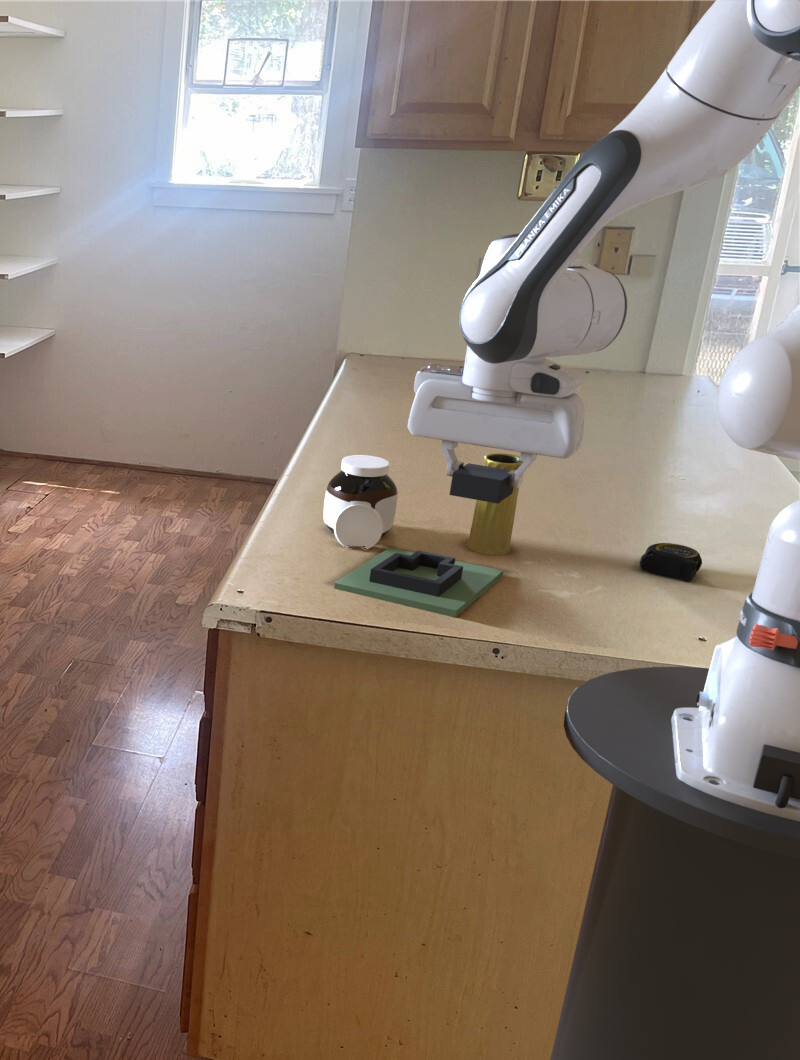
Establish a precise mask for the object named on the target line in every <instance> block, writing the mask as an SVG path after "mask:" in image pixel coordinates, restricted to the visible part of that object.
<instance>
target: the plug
mask: <svg viewBox="0 0 800 1060" xmlns="http://www.w3.org/2000/svg"><path fill="white" fill-rule="evenodd" d="M510 471H511V470H507V469H501V468H495V467H489V466H483V464H476V463H470V462H468V463H466V464H464V465H463V467H461V468H460V469H458V470H456V471H454V472H453V475H452V476H451V481H450V487H449V496H454V497H458V498H463V499H469V500H475V501H476V500H480V501H486V502H491V503H497V504H498V503H500V502H501V501H503V500H504V499H505V498H507V497H508V496H510V495H511V494H512V493H513V488H514V487H511V486H507V485H506V483H507V480H508V479H507V473H508V472H510Z"/></svg>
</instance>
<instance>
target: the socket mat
mask: <svg viewBox="0 0 800 1060" xmlns="http://www.w3.org/2000/svg"><path fill="white" fill-rule="evenodd" d="M504 572H505V571H504V570H503V569H499V568H493V567H488V566H484V565H478V564H473V563H468V562H464V561H458V560H456V557H453V556H448V555H443V554H438V553H433V552H428V551H424V550H417V551H410V550H404V549H399V548H394V547H388V548H387V549H385V550H384V551H382V552H381V553H379V554H377V555H376V556H374V557H372V558H371V559H370V560H368V561H367V562H365V563H364V564H361V565H360V566H358V567H357V568H355V569H354V570H352V571H351V572H349V573H347V574H346V575H345V576H343V577H341V578H340V579H339V580H336V581H335V582H334V585H333V590H338V591H341V592H346V593H351V594H355V595H359V596H363V597H366V598H371V599H375V600H380V601H384V602H388V603H392V604H396V605H401V606H405V607H409V608H414V609H418V610H422V611H424V612H425V611H426V612H430V613H435V614H438V615H442V616H447V617H450V618H457V617H458V616H459V615H460V614H462V613H463V612H464V611H465V610H466V609H467V608H469V607H470V606H471V605H472V604H474V602H475V601H477V600H478V599H479V598H481V596H482V595H484V594H485V593H486V592H487V591H488V590H489V589H490V588H492V587H493V586H494V585H495V584H497V582H499V580H500V579H502V578H503V576H504Z"/></svg>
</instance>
